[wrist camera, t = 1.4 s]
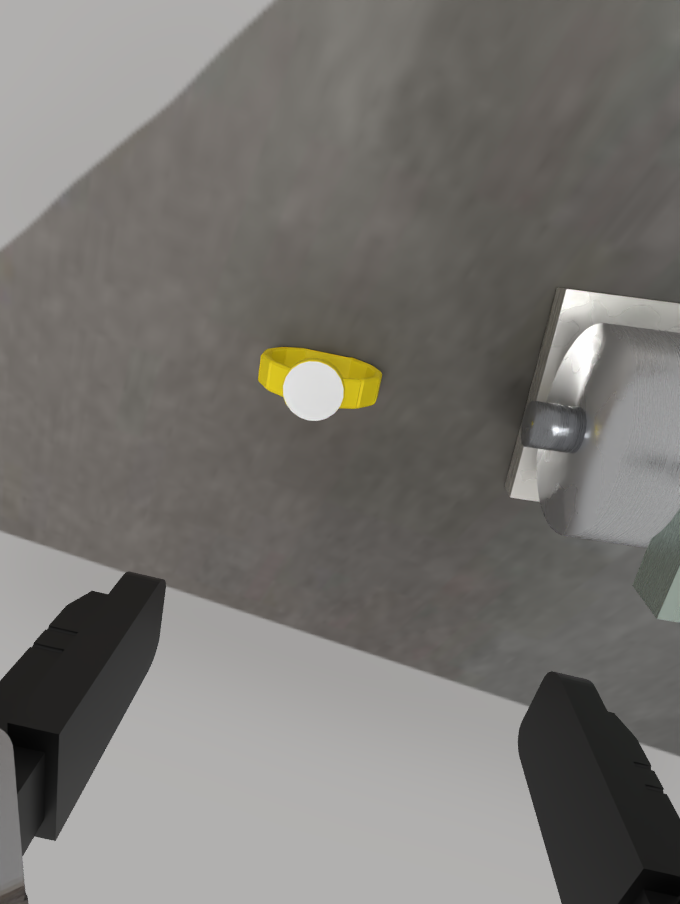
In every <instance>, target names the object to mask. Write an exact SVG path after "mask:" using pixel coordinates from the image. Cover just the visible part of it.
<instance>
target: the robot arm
mask: <svg viewBox="0 0 680 904" xmlns="http://www.w3.org/2000/svg"><path fill="white" fill-rule="evenodd" d="M165 589H166V582H165V580H163V579H159V578H155V577H150V576H146V575H142V574H138V573H133V572H126V573H125V574H124V575H123V576H122V578H121V579H120V580H119V581H118V583H117V584H116V585H115V586H114V588H113V589H112V590H111V591H110V593H109V594H104V593H99V592H95V591H91V592H89V593H88V594H86V595H84V596H82V597H81V598H79V599H77V600H75V601H74V602H72V603H70V604H68V605H67V606H66V607H65V608H64V609H63V610H62V611H61V613H60V614H59V615H58V616H57V617H56V618H55V619H54V621H53V622H52V623H51V624H50V625H49V628H48V629H47V630H45V631H44V632H43V633H42V634H41V635H40V637H39V638H38V639H37V640H36V641H35V642H34V645H33V647H30V648H29V649H28V650H27V651H26V652H25V653H24V655H23V656H22V657H21V658H20V659H19V660H18V661H17V662H16V664H15V665H14V666H13V667H12V668H11V669H10V670H9V672H8V673H7V674H6V675H5V676H4V677H3V678H2V679H1V681H0V904H28V898H27V895H26V893H25V884H24V873H23V861H22V856H23V855H24V853H25V851H26V850H27V848H28V846H29V844H30V843H31V841H32V839H33V838H34V836H36V837H40V838H45V839H49V840H54V841H56V839H57V837H58V835H59V833H60V831H61V830H62V828H63V826H64V824H65V822H66V821H67V819H68V817H69V815H70V813H71V811H72V810H73V808H74V806H75V804H76V802H77V800H78V799H79V797H80V795H81V793H82V791H83V789H84V788H85V786H86V784H87V782H88V780H89V778H90V777H91V775H92V773H93V771H94V769H95V767H96V766H97V764H98V762H99V760H100V758H101V756H102V754H103V753H104V751H105V749H106V747H107V745H108V743H109V742H110V740H111V738H112V736H113V734H114V733H115V731H116V729H117V727H118V725H119V724H120V722H121V720H122V718H123V716H124V714H125V713H126V711H127V709H128V707H129V705H130V703H131V702H132V700H133V698H134V696H135V694H136V692H137V691H138V689H139V687H140V685H141V683H142V681H143V679H144V678H145V676H146V674H147V672H148V670H149V668H150V666H151V664H152V661H153V659H154V656H155V653H156V649H157V646H158V642H159V637H160V628H161V621H162V613H163V605H164V597H165ZM518 750H519V756H520V760H521V763H522V767H523V770H524V774H525V778H526V781H527V785H528V788H529V791H530V795H531V798H532V802H533V805H534V809H535V812H536V816H537V819H538V822H539V826H540V830H541V833H542V837H543V840H544V843H545V847H546V850H547V854H548V857H549V861H550V864H551V867H552V871H553V875H554V878H555V882H556V885H557V889H558V892H559V895H560V899H561V903H562V904H680V818H679V816H678V814H677V813H676V811H675V809H674V807H673V805H672V803H671V801H670V800H669V798H668V796H667V794H664V793H663V787H662V785H661V783H660V781H659V779H658V777H657V776H656V774H655V772H654V771H652V770H651V765H650V763H649V761H648V759H647V757H646V755H645V753H644V751H643V750H642V748H641V746H640V744H639V742H638V740H637V738H636V737H635V736H634V735H633V734H632V733H631V732H630V731H629V729H628V728H627V727H626V726H625V725H624V724H623V723H622V722H621V720H620V719H619V718H618V717H617V716H616V715H615V714H614V713H611V712H608V711H607V710H606V708H605V706H604V704H603V702H602V700H601V698H600V696H599V694H598V692H597V690H596V688H595V686H594V685H593V683H592V682H591V681H589V680H587V679H583V678H578V677H574V676H570V675H566V674H561V673H557V672H549V673H547V674H546V676H545V677H544V679H543V681H542V683H541V685H540V687H539V689H538V691H537V693H536V695H535V697H534V699H533V701H532V703H531V705H530V707H529V709H528V711H527V713H526V715H525V717H524V719H523V721H522V723H521V726H520V729H519V735H518Z"/></svg>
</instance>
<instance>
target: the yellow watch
mask: <svg viewBox="0 0 680 904" xmlns="http://www.w3.org/2000/svg"><path fill="white" fill-rule="evenodd" d="M381 379H382V373H381V372H380V371H379V370H378V369H376V368H375V367H374V366H372V365H370V364H368V363H365V362H363V361H360V360H357V359H355V358H353V357H350V358H349V357H344V356H339V355H334V354H329V353H324V352H320V351H315V350H310V349H305V348H294V347H278V348H270V349H267V350H265V351H264V352H263V354H262V355H261V360H260V368H259V376H258V381H259V382H260V383H261V384H262V385H263V386H264V387H265V388H266V389H267V390H269V391H270V392H273V393H275V394H277V395H280V396H282V397H284V400H285V403H286V405H287V406H288V407H289V409H290V410H291V411H292V412H293V413H294V414H296V415H297V416H298V417H300V418H303V419H306V420H310V421H319V420H323V419H326V418H328V417H330V416H331V415H333V414H334V413H335V412H336V411H337V410H338V409H339V408H346V409H355V408H357V409H358V408H362V407H367V406H371V405H373V404H375V402H376V399H377V397H378V392H379V388H380V383H381Z"/></svg>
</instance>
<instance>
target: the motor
mask: <svg viewBox="0 0 680 904" xmlns="http://www.w3.org/2000/svg"><path fill="white" fill-rule="evenodd" d="M505 488H506V490H507V492H508V494H509V496H510V497H511V498H518V499H524V500H531V501H538V502H540V504H541V508H542V511H543V514H544V516H545V518H546V520H547V522H548V524H549V525H550V527H551V528H552V529H553V530H554V531H555V532H556V533H558V534H560V535H564V536H570V537H577V538H583V539H590V540H597V541H603V542H610V543H616V544H623V545H629V546H636V547H642V548H647V551H646V553H645V556H644V558H643V561H642V563H641V566H640V568H639V571H638V573H637V576H636V578H635V581H634V583H633V587H634V588H635V590H636V591H637V592H638V594H639V595H640V596H641V598H642V599H643V601H644V602H645V603H646V605H647V606H648V607H649V609H650V610H651V611H652V613H653V614H654V616H655V617H656V618H657V619H661V620H667V621H673V622H680V303H673V302H665V301H658V300H650V299H642V298H635V297H627V296H619V295H612V294H604V293H596V292H589V291H581V290H573V289H566V288H558V287H557V289H556V293H555V297H554V301H553V304H552V308H551V312H550V316H549V320H548V323H547V327H546V331H545V335H544V338H543V342H542V346H541V350H540V354H539V357H538V361H537V365H536V369H535V373H534V376H533V380H532V384H531V388H530V391H529V395H528V399H527V403H526V407H525V410H524V414H523V418H522V422H521V425H520V429H519V433H518V437H517V441H516V444H515V448H514V452H513V456H512V460H511V463H510V467H509V471H508V475H507V478H506V482H505Z"/></svg>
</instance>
